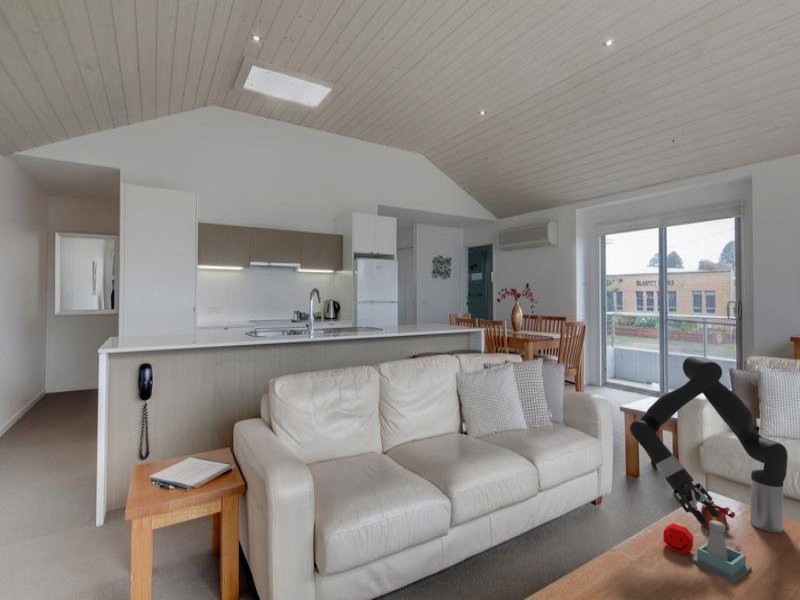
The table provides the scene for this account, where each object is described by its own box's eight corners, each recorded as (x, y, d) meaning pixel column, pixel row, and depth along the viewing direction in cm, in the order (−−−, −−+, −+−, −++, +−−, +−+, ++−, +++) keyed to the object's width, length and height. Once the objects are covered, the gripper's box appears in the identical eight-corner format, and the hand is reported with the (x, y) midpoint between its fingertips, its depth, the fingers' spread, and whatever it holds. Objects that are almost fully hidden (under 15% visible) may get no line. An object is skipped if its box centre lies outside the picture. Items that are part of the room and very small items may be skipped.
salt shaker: (731, 568, 132) (732, 528, 132) (711, 566, 133) (711, 526, 133) (721, 557, 138) (722, 518, 137) (701, 555, 139) (702, 516, 139)
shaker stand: (708, 549, 143) (708, 537, 143) (751, 569, 133) (751, 555, 133) (691, 561, 137) (691, 547, 137) (734, 582, 127) (735, 568, 127)
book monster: (711, 518, 163) (744, 537, 152) (694, 522, 161) (726, 542, 149) (713, 492, 163) (746, 509, 151) (695, 496, 160) (727, 513, 149)
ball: (661, 549, 144) (662, 527, 143) (667, 539, 149) (667, 518, 149) (689, 559, 138) (690, 537, 138) (694, 549, 144) (694, 527, 144)
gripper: (671, 472, 141) (710, 521, 132) (692, 463, 149) (730, 509, 139) (655, 481, 146) (691, 529, 136) (676, 472, 153) (711, 518, 144)
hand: (710, 519), depth 138 cm, fingers open, 8 cm apart
